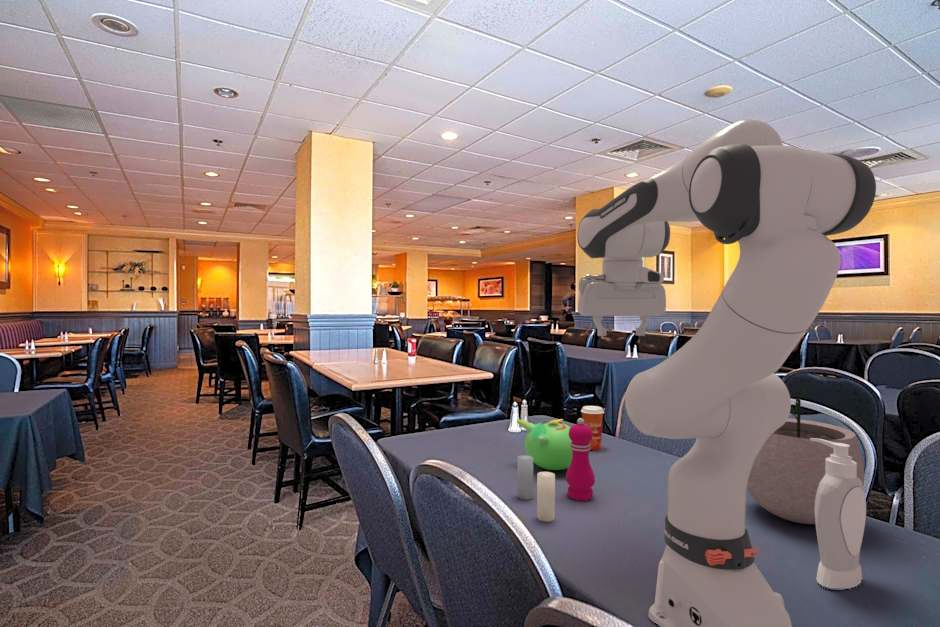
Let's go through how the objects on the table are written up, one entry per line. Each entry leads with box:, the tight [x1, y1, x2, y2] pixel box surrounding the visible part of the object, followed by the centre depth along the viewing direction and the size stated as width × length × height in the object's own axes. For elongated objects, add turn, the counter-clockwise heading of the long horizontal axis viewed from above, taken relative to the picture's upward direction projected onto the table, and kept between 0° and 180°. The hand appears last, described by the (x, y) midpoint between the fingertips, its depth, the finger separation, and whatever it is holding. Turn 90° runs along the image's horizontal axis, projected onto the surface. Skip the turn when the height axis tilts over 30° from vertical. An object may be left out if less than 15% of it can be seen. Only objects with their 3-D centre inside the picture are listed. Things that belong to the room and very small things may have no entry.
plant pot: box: [747, 387, 865, 525], centre depth 113 cm, size 24×24×30 cm
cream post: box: [536, 471, 556, 523], centre depth 113 cm, size 4×4×10 cm
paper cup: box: [580, 405, 605, 451], centre depth 168 cm, size 8×8×14 cm
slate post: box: [516, 454, 534, 501], centre depth 126 cm, size 4×4×10 cm
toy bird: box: [516, 418, 572, 471], centre depth 148 cm, size 18×17×15 cm
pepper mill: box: [565, 417, 596, 501], centre depth 126 cm, size 7×7×20 cm
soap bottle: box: [810, 438, 867, 588], centre depth 88 cm, size 13×8×24 cm, turn 115°
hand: (621, 335), depth 112 cm, fingers open, 8 cm apart
